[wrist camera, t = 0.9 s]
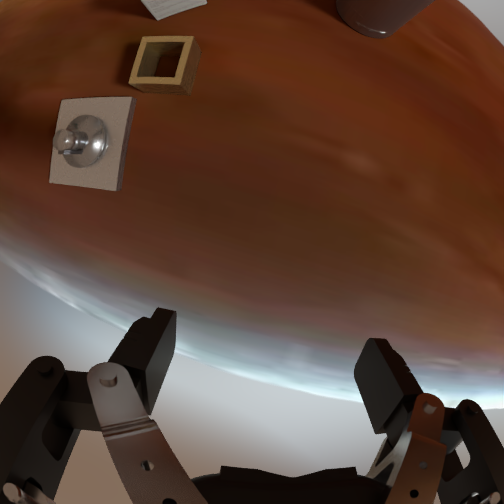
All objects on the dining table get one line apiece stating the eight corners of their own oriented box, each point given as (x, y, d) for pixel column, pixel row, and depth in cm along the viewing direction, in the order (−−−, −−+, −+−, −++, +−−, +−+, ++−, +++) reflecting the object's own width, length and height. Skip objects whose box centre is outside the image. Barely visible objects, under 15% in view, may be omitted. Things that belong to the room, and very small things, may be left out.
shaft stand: (67, 101, 28) (37, 94, 22) (136, 99, 29) (111, 86, 22) (55, 181, 32) (24, 187, 25) (121, 189, 32) (93, 196, 26)
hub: (156, 51, 27) (142, 36, 22) (201, 52, 27) (193, 36, 22) (144, 92, 29) (128, 83, 24) (190, 95, 29) (180, 84, 24)
